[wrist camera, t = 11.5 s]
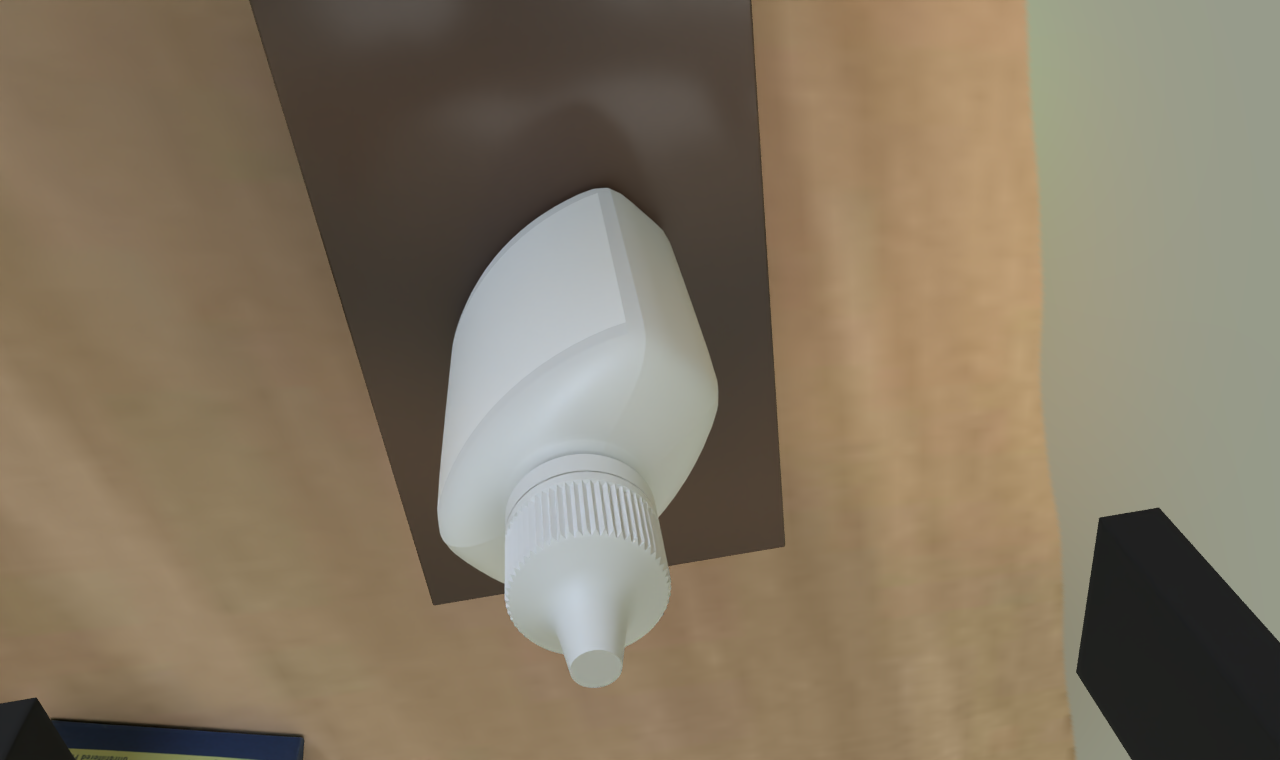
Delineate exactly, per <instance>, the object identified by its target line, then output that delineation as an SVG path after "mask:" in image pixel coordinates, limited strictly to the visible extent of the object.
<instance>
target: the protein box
mask: <svg viewBox="0 0 1280 760" xmlns="http://www.w3.org/2000/svg"><path fill="white" fill-rule="evenodd" d="M51 721H52V723H53V725H54V726H55V728H56V729H57V731H58V733H59V734H60V736H61V737H62V739H63V741H64V742H65V744H66V745H67V747H68V749H69V750H70V752H71V753H72V755H73V757H74V758H75V760H303V749H304V739H303V738H302V737H286V736H272V735H257V734H242V733H226V732H210V731H198V730H180V729H170V728H154V727H140V726H127V725H106V724H96V723H82V722H67V721H57V720H51Z"/></svg>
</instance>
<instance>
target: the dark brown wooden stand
mask: <svg viewBox="0 0 1280 760" xmlns="http://www.w3.org/2000/svg"><path fill="white" fill-rule="evenodd" d="M249 1H250V5H251V8H252V11H253V14H254V18H255V21H256V24H257V28H258V31H259V34H260V37H261V41H262V44H263V47H264V51H265V54H266V57H267V60H268V64H269V67H270V70H271V74H272V77H273V80H274V83H275V87H276V90H277V93H278V97H279V100H280V103H281V106H282V110H283V113H284V116H285V120H286V123H287V126H288V129H289V133H290V136H291V139H292V143H293V146H294V149H295V152H296V156H297V159H298V162H299V166H300V169H301V172H302V175H303V179H304V182H305V185H306V189H307V192H308V195H309V198H310V202H311V205H312V208H313V212H314V215H315V218H316V221H317V225H318V228H319V231H320V235H321V238H322V241H323V244H324V248H325V251H326V254H327V258H328V261H329V264H330V267H331V271H332V274H333V277H334V281H335V284H336V287H337V290H338V294H339V297H340V300H341V304H342V307H343V310H344V313H345V317H346V320H347V323H348V327H349V330H350V333H351V336H352V340H353V343H354V346H355V350H356V353H357V356H358V359H359V363H360V366H361V369H362V373H363V376H364V379H365V382H366V386H367V389H368V392H369V396H370V399H371V402H372V405H373V409H374V412H375V415H376V419H377V422H378V425H379V428H380V432H381V435H382V438H383V442H384V445H385V448H386V451H387V455H388V458H389V461H390V465H391V468H392V471H393V474H394V478H395V481H396V484H397V488H398V491H399V494H400V497H401V501H402V504H403V507H404V511H405V514H406V517H407V520H408V524H409V527H410V530H411V534H412V537H413V540H414V543H415V547H416V550H417V553H418V557H419V560H420V563H421V566H422V570H423V573H424V576H425V580H426V583H427V586H428V589H429V593H430V596H431V599H432V603H433V605H440V604H446V603H451V602H457V601H463V600H469V599H475V598H481V597H487V596H493V595H499V594H505V584H504V583H502V582H500V581H498V580H496V579H494V578H492V577H490V576H488V575H486V574H485V573H483V572H481V571H480V570H478V569H476V568H475V567H473V566H472V565H470V564H468V563H467V562H465V561H464V560H463V559H461V558H460V557H459V556H457V555H456V554H455V553H454V552H453V551H452V550H451V549H450V548H449V547H448V546H447V544H446V543H445V542H444V541H443V539H442V537H441V535H440V530H439V523H438V513H437V506H438V490H439V475H440V464H441V454H442V444H443V433H444V423H445V413H446V403H447V393H448V383H449V374H450V364H451V355H452V346H453V341H454V336H455V332H456V329H457V326H458V323H459V320H460V317H461V315H462V312H463V310H464V308H465V305H466V303H467V301H468V299H469V297H470V295H471V293H472V291H473V289H474V287H475V286H476V284H477V282H478V280H479V279H480V277H481V276H482V274H483V273H484V271H485V270H486V268H487V267H488V266H489V264H490V263H491V262H492V260H493V259H494V258H495V256H496V255H497V254H498V253H499V252H500V251H501V250H502V248H503V247H504V246H505V245H506V244H507V243H508V242H509V241H510V240H511V239H512V238H513V237H514V236H516V235H517V234H518V233H519V232H520V231H521V230H522V229H524V228H525V227H526V226H527V225H528V224H530V223H531V222H532V221H534V220H535V219H537V218H538V217H539V216H541V215H542V214H544V213H545V212H547V211H549V210H550V209H552V208H553V207H555V206H557V205H559V204H560V203H562V202H564V201H566V200H568V199H570V198H572V197H574V196H576V195H578V194H581V193H583V192H586V191H589V190H591V189H596V188H609V189H612V190H614V191H616V192H618V193H621V194H622V195H623V196H625V197H626V198H627V199H628V200H629V201H631V202H632V203H633V204H634V205H635V206H637V207H638V208H639V209H640V210H641V211H642V212H643V213H645V214H646V215H647V216H648V217H649V218H650V219H651V220H653V221H654V222H655V223H656V224H657V225H658V226H659V227H660V228H661V229H662V230H663V231H664V233H665V235H666V237H667V238H668V240H669V242H670V244H671V247H672V250H673V252H674V255H675V258H676V261H677V263H678V266H679V269H680V272H681V275H682V277H683V280H684V283H685V286H686V289H687V291H688V294H689V297H690V300H691V303H692V306H693V308H694V311H695V314H696V317H697V320H698V323H699V326H700V329H701V332H702V334H703V337H704V340H705V343H706V346H707V349H708V352H709V355H710V358H711V362H712V365H713V368H714V372H715V375H716V378H717V383H718V408H717V412H716V415H715V419H714V422H713V425H712V428H711V430H710V433H709V435H708V437H707V440H706V442H705V445H704V447H703V449H702V451H701V453H700V455H699V457H698V459H697V461H696V463H695V465H694V467H693V469H692V470H691V472H690V474H689V476H688V477H687V479H686V481H685V482H684V484H683V485H682V487H681V488H680V490H679V491H678V493H677V494H676V496H675V497H674V499H673V500H672V501H671V502H670V504H669V505H668V506H667V508H666V509H665V510H664V511H663V513H662V514H661V515H660V516H659V517H658V519H659V524H660V529H661V534H662V539H663V544H664V549H665V553H666V558H667V563H668V566H672V565H677V564H683V563H689V562H695V561H701V560H707V559H713V558H719V557H725V556H731V555H737V554H743V553H749V552H755V551H761V550H767V549H773V548H779V547H784V546H785V534H784V518H783V502H782V486H781V469H780V453H779V437H778V421H777V405H776V389H775V373H774V357H773V341H772V325H771V309H770V293H769V277H768V261H767V245H766V229H765V213H764V197H763V181H762V165H761V149H760V133H759V117H758V101H757V85H756V69H755V53H754V37H753V20H752V4H751V0H249Z"/></svg>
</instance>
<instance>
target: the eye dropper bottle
mask: <svg viewBox="0 0 1280 760" xmlns="http://www.w3.org/2000/svg"><path fill="white" fill-rule="evenodd" d="M717 408H718V383H717V378H716V375H715V372H714V368H713V365H712V362H711V358H710V355H709V352H708V349H707V346H706V343H705V340H704V337H703V334H702V332H701V329H700V326H699V323H698V320H697V317H696V314H695V311H694V308H693V306H692V303H691V300H690V297H689V294H688V291H687V289H686V286H685V283H684V280H683V277H682V275H681V272H680V269H679V266H678V263H677V261H676V258H675V255H674V252H673V250H672V247H671V244H670V242H669V240H668V238H667V237H666V235H665V233H664V231H663V230H662V229H661V228H660V227H659V226H658V225H657V224H656V223H655V222H654V221H653V220H651V219H650V218H649V217H648V216H647V215H646V214H645V213H643V212H642V211H641V210H640V209H639V208H638V207H637V206H635V205H634V204H633V203H632V202H631V201H629V200H628V199H627V198H626V197H625V196H623V195H622V194H621V193H618V192H616V191H614V190H612V189H609V188H596V189H591V190H589V191H586V192H583V193H581V194H578V195H576V196H574V197H572V198H570V199H568V200H566V201H564V202H562V203H560V204H559V205H557V206H555V207H553V208H552V209H550V210H549V211H547V212H545V213H544V214H542V215H541V216H539V217H538V218H537V219H535V220H534V221H532V222H531V223H530V224H528V225H527V226H526V227H525V228H524V229H522V230H521V231H520V232H519V233H518V234H517V235H516V236H514V237H513V238H512V239H511V240H510V241H509V242H508V243H507V244H506V245H505V246H504V247H503V248H502V250H501V251H500V252H499V253H498V254H497V255H496V256H495V258H494V259H493V260H492V262H491V263H490V264H489V266H488V267H487V268H486V270H485V271H484V273H483V274H482V276H481V277H480V279H479V280H478V282H477V284H476V286H475V287H474V289H473V291H472V293H471V295H470V297H469V299H468V301H467V303H466V305H465V308H464V310H463V312H462V315H461V317H460V320H459V323H458V326H457V329H456V332H455V336H454V341H453V346H452V355H451V364H450V374H449V383H448V393H447V403H446V413H445V423H444V433H443V444H442V454H441V464H440V475H439V490H438V506H437V513H438V523H439V530H440V535H441V537H442V539H443V541H444V542H445V543H446V544H447V546H448V547H449V548H450V549H451V550H452V551H453V552H454V553H455V554H456V555H457V556H459V557H460V558H461V559H463V560H464V561H465V562H467V563H468V564H470V565H472V566H473V567H475V568H476V569H478V570H480V571H481V572H483V573H485V574H486V575H488V576H490V577H492V578H494V579H496V580H498V581H500V582H502V583H504V584H505V602H506V608H507V609H508V614H509V615H510V620H511V621H513V622H514V626H515V627H517V628H518V631H519V632H521V633H522V634H524V636H525V637H526V638H528V639H529V640H530V641H532V642H533V643H535V644H536V645H538V646H541V647H542V648H544V649H547V650H550V651H553V652H556V653H560V654H564V656H565V659H566V662H567V665H568V668H569V671H570V674H571V677H572V678H573V680H574V681H575V682H576V683H578V684H579V685H581V686H584V687H589V688H599V687H603V686H606V685H609V684H611V683H612V682H614V681H615V680H616V679H617V678H618V677H619V676H620V674H621V671H622V665H623V657H624V649H625V647H626V646H628V645H630V644H632V643H634V642H635V641H637V640H639V639H640V638H642V637H643V636H644V635H645V634H647V633H648V632H649V631H650V630H651V629H652V628H653V627H654V626H655V624H656V623H657V622H658V621H659V620H660V618H661V617H662V616H663V614H664V611H665V610H666V608H667V604H668V603H669V597H670V595H671V593H670V590H671V584H670V583H671V578H670V573H669V568H668V563H667V558H666V553H665V549H664V544H663V539H662V534H661V529H660V524H659V519H658V517H659V516H660V515H661V514H662V513H663V511H664V510H665V509H666V508H667V506H668V505H669V504H670V502H671V501H672V500H673V499H674V497H675V496H676V494H677V493H678V491H679V490H680V488H681V487H682V485H683V484H684V482H685V481H686V479H687V477H688V476H689V474H690V472H691V470H692V469H693V467H694V465H695V463H696V461H697V459H698V457H699V455H700V453H701V451H702V449H703V447H704V445H705V442H706V440H707V437H708V435H709V433H710V430H711V428H712V425H713V422H714V419H715V415H716V412H717Z"/></svg>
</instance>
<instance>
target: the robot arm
mask: <svg viewBox="0 0 1280 760" xmlns="http://www.w3.org/2000/svg"><path fill="white" fill-rule="evenodd" d="M1076 673H1077V674H1078V676H1079V677H1080V679H1081V681H1082V682H1083V684H1084V685H1085V687H1086V688H1087V690H1088V692H1089V693H1090V695H1091V696H1092V698H1093V699H1094V701H1095V702H1096V704H1097V706H1098V707H1099V709H1100V710H1101V712H1102V714H1103V715H1104V717H1105V718H1106V720H1107V721H1108V723H1109V725H1110V726H1111V728H1112V729H1113V731H1114V732H1115V734H1116V736H1117V737H1118V739H1119V740H1120V742H1121V743H1122V745H1123V747H1124V748H1125V750H1126V751H1127V753H1128V754H1129V756H1130V757H1131V759H1132V760H1280V642H1279V641H1278V640H1277V639H1276V638H1275V637H1274V636H1273V635H1272V633H1271V632H1270V631H1269V630H1268V629H1267V628H1266V627H1265V626H1264V624H1263V623H1262V622H1261V621H1260V620H1259V619H1258V618H1257V617H1256V615H1254V613H1253V612H1252V611H1251V610H1250V609H1249V608H1248V607H1247V605H1246V604H1245V603H1244V602H1243V601H1242V600H1241V599H1240V598H1239V596H1238V595H1237V594H1236V593H1235V592H1234V591H1233V590H1232V589H1231V588H1230V586H1229V585H1228V584H1227V583H1226V582H1225V581H1224V580H1223V579H1222V577H1221V576H1220V575H1219V574H1218V573H1217V572H1216V571H1215V570H1214V569H1213V567H1212V566H1211V565H1210V564H1209V563H1208V562H1207V561H1206V560H1205V559H1204V557H1203V556H1202V555H1201V554H1200V553H1199V552H1198V551H1197V550H1196V549H1195V547H1194V546H1193V545H1192V544H1191V543H1190V542H1189V541H1188V539H1187V538H1186V537H1185V536H1184V535H1183V534H1182V533H1181V532H1180V531H1179V529H1178V528H1177V527H1176V526H1175V525H1174V524H1173V523H1172V522H1171V520H1170V519H1169V518H1168V517H1167V516H1166V515H1165V514H1164V513H1163V512H1162V511H1161V509H1160V508H1154V509H1148V510H1142V511H1136V512H1131V513H1124V514H1118V515H1112V516H1107V517H1101V518H1099V523H1098V530H1097V536H1096V543H1095V550H1094V557H1093V563H1092V570H1091V577H1090V583H1089V590H1088V597H1087V604H1086V610H1085V617H1084V624H1083V631H1082V637H1081V644H1080V650H1079V658H1078V664H1077V670H1076ZM0 760H75V758H74V757H73V755H72V753H71V752H70V750H69V749H68V747H67V745H66V744H65V742H64V741H63V739H62V737H61V736H60V734H59V733H58V731H57V729H56V728H55V726H54V725H53V723H52V721H51V720H50V718H49V717H48V715H47V713H46V712H45V710H44V709H43V707H42V706H41V704H40V702H39V701H38V699H37V698H31V699H25V700H19V701H14V702H8V703H2V704H0Z"/></svg>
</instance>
